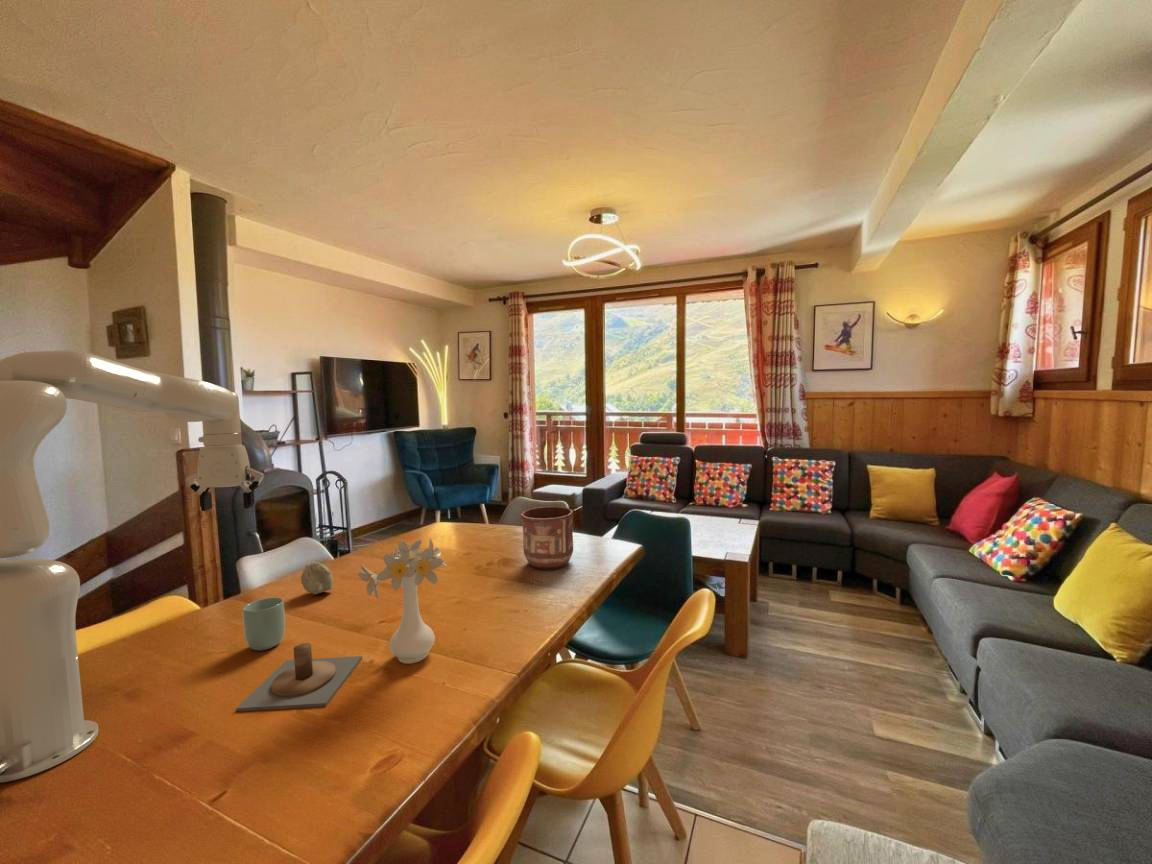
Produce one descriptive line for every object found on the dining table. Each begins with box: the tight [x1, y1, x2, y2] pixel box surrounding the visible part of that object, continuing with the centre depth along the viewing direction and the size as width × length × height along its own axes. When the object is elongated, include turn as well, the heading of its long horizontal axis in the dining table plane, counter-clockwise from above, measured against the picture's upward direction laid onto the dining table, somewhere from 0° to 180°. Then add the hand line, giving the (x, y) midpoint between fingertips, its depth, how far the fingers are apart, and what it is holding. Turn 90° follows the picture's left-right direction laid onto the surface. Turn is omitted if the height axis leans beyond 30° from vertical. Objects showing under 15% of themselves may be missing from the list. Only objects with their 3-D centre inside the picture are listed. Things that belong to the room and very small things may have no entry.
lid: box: [271, 642, 336, 697], centre depth 93 cm, size 11×11×7 cm
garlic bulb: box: [300, 561, 335, 595], centre depth 138 cm, size 9×8×10 cm
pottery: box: [520, 505, 574, 571], centre depth 158 cm, size 18×18×18 cm
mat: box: [235, 655, 363, 712], centre depth 93 cm, size 16×16×1 cm
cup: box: [242, 596, 286, 652], centre depth 108 cm, size 8×8×10 cm
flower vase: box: [357, 537, 448, 665], centre depth 100 cm, size 13×18×25 cm
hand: (228, 508), depth 117 cm, fingers open, 9 cm apart
